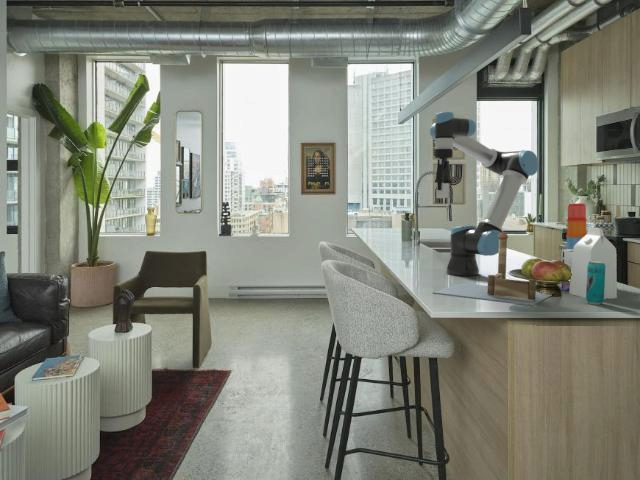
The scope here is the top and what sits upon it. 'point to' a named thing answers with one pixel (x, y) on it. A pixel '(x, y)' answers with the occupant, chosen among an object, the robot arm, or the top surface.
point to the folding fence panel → (502, 257)
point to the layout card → (481, 293)
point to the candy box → (567, 259)
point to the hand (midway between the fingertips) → (442, 198)
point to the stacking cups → (576, 224)
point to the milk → (593, 250)
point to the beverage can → (595, 282)
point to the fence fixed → (512, 288)
